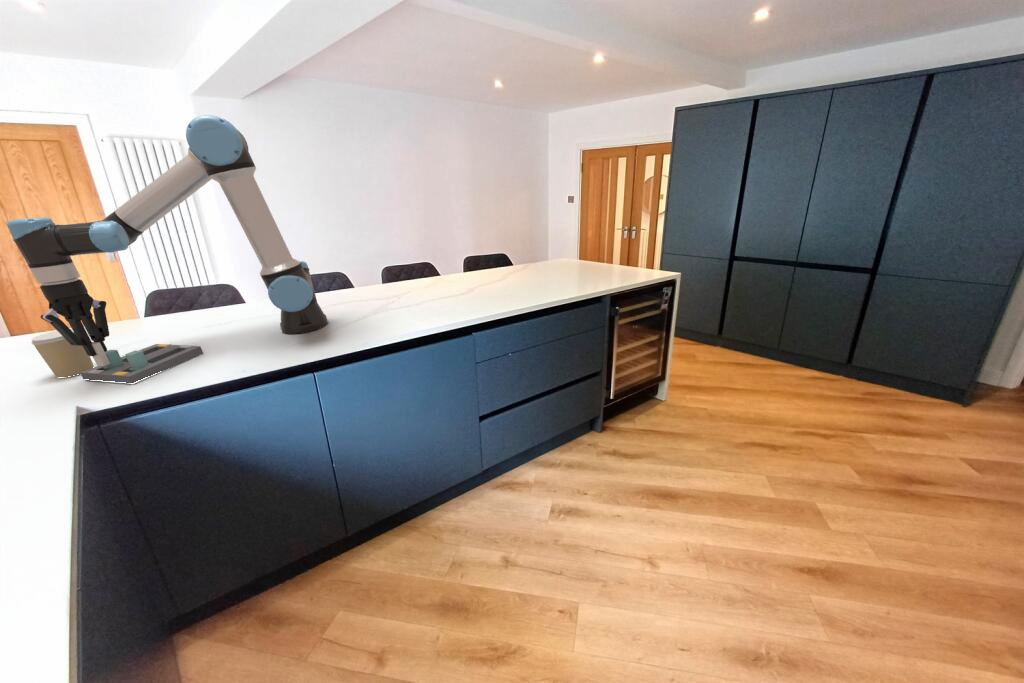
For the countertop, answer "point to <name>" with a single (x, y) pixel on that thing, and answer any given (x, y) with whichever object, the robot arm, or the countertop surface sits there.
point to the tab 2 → (136, 360)
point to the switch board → (155, 354)
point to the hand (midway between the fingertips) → (103, 364)
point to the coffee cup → (62, 354)
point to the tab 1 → (113, 359)
